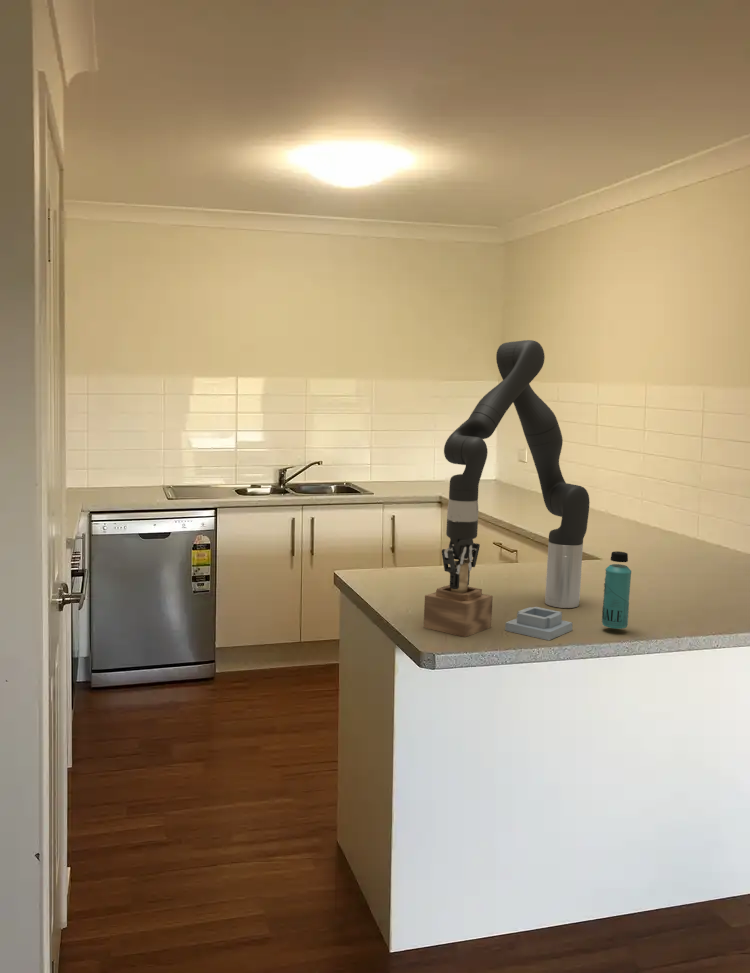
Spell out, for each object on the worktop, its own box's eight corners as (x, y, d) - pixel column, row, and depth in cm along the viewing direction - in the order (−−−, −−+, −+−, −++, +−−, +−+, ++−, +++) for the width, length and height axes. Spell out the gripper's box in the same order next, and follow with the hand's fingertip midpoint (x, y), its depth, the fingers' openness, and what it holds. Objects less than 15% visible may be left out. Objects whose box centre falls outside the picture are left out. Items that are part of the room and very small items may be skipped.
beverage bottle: (623, 627, 240) (628, 549, 238) (631, 635, 234) (637, 555, 231) (597, 627, 240) (602, 549, 238) (604, 634, 234) (610, 554, 231)
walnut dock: (450, 618, 244) (452, 581, 243) (491, 627, 237) (493, 589, 235) (423, 627, 235) (425, 589, 233) (464, 637, 227) (466, 598, 226)
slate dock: (529, 621, 244) (530, 603, 243) (572, 630, 236) (573, 612, 236) (505, 630, 234) (506, 612, 234) (549, 640, 227) (550, 622, 226)
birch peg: (456, 592, 237) (458, 561, 236) (470, 595, 235) (471, 563, 234) (447, 595, 234) (449, 563, 233) (461, 598, 232) (462, 566, 231)
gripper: (465, 513, 240) (462, 579, 242) (433, 519, 229) (430, 589, 231) (491, 516, 235) (487, 584, 238) (459, 523, 224) (456, 594, 226)
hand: (459, 586), depth 234 cm, fingers closed on birch peg, 4 cm apart
